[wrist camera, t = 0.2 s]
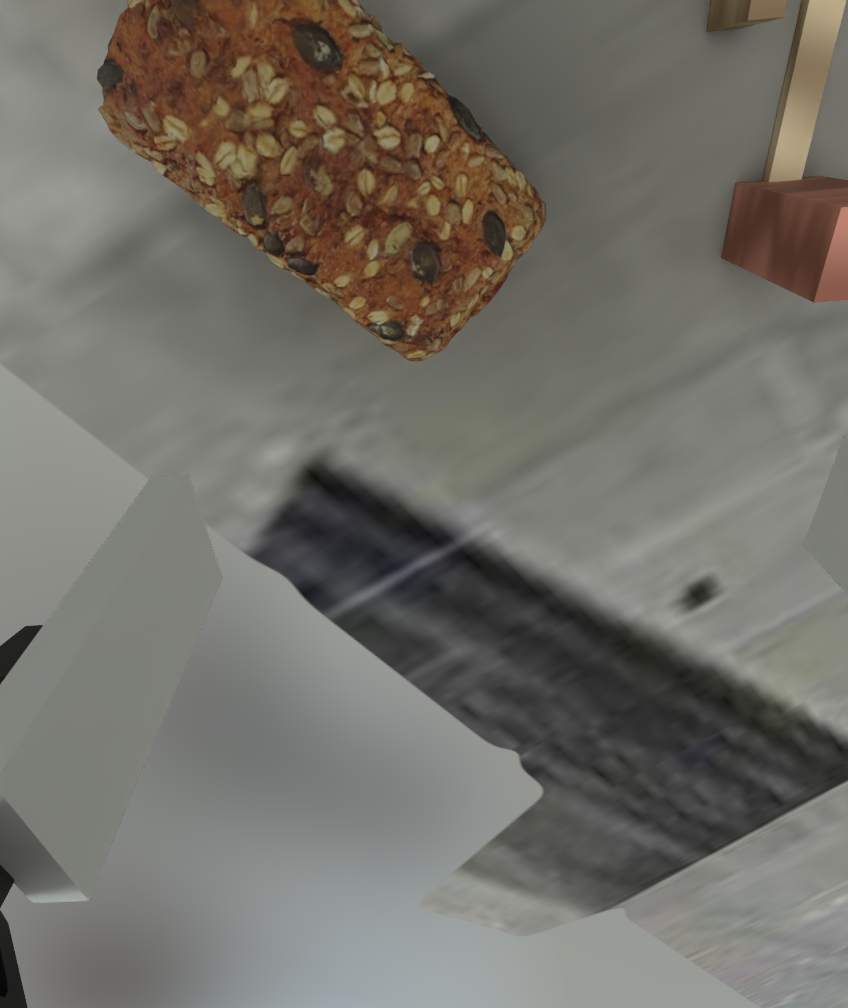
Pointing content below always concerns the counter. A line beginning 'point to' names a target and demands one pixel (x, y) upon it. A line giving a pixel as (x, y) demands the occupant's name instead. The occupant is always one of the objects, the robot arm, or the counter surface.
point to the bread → (325, 155)
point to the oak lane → (743, 13)
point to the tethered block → (796, 180)
